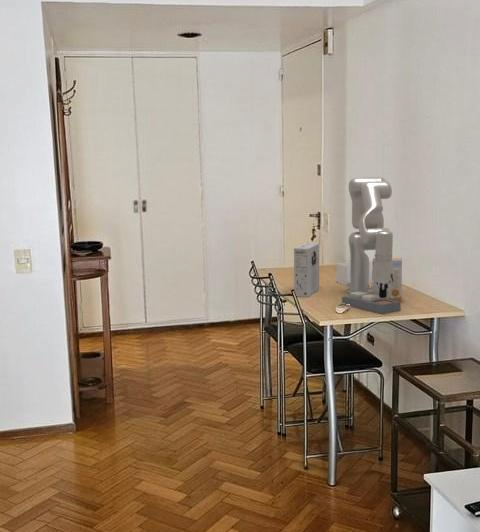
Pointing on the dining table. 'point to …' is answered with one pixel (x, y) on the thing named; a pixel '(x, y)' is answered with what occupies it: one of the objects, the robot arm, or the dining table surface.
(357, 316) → the dining table surface
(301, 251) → the cereal box
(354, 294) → the left key
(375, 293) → the cracker box
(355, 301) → the key panel
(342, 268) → the storage container
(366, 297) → the middle key
